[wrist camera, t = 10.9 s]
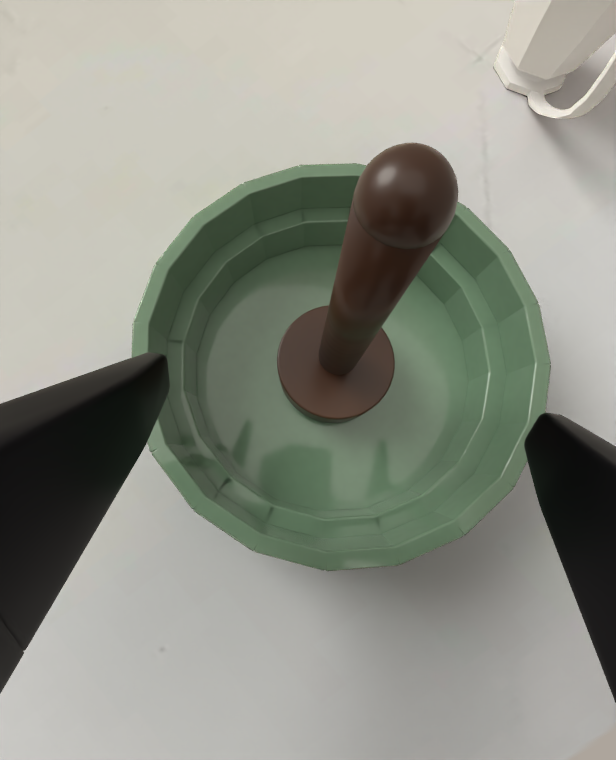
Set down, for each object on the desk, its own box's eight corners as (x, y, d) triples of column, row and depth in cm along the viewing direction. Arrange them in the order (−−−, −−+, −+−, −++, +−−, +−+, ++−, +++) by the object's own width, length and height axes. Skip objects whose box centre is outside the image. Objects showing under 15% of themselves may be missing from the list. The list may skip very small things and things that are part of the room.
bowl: (542, 461, 17) (627, 463, 13) (234, 595, 16) (210, 650, 11) (408, 194, 20) (440, 119, 15) (133, 286, 18) (82, 232, 14)
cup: (578, 24, 23) (730, -207, 15) (603, 163, 21) (794, -18, 13) (466, 19, 22) (559, -218, 15) (480, 159, 20) (597, -27, 13)
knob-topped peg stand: (402, 399, 17) (671, 262, 5) (301, 439, 16) (319, 398, 4) (360, 305, 18) (497, -15, 6) (263, 340, 17) (186, 71, 5)
